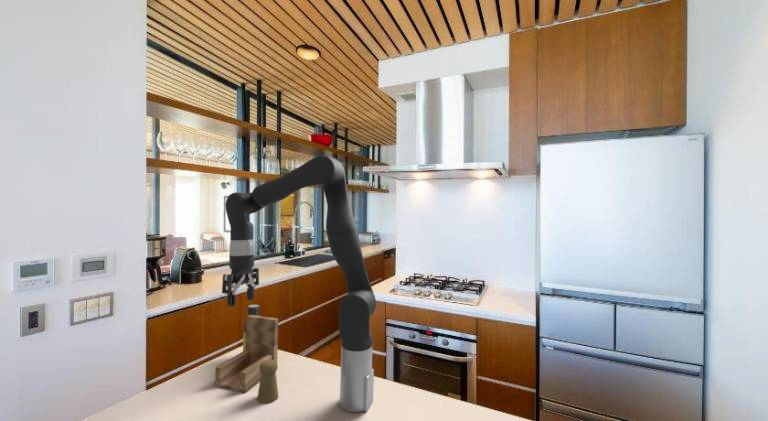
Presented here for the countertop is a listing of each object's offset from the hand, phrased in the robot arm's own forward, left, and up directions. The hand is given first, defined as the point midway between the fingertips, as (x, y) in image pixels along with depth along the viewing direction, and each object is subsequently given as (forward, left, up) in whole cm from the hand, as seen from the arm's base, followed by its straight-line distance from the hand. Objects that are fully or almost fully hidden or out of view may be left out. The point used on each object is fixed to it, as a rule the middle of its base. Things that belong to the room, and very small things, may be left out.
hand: (241, 302), depth 105 cm
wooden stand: (0, -3, -26) cm, 26 cm away
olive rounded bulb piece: (-14, +5, -26) cm, 30 cm away
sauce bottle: (+8, -15, -26) cm, 31 cm away
